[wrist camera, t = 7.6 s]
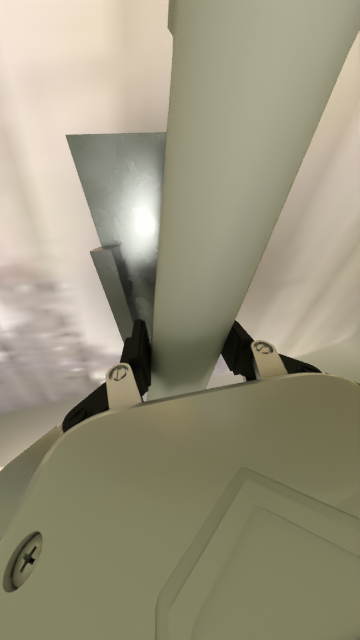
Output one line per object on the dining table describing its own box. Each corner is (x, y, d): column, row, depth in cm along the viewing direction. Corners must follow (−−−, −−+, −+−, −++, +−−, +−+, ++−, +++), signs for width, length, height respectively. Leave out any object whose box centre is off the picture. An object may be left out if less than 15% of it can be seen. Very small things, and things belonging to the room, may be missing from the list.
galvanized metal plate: (232, 140, 12) (268, 101, 8) (213, 356, 26) (223, 378, 22) (75, 145, 11) (33, 102, 7) (144, 368, 24) (142, 393, 21)
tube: (197, 437, 16) (446, -34, 3) (150, 465, 14) (422, -1080, 1) (176, 394, 20) (251, 97, 7) (136, 410, 18) (141, -3, 5)
